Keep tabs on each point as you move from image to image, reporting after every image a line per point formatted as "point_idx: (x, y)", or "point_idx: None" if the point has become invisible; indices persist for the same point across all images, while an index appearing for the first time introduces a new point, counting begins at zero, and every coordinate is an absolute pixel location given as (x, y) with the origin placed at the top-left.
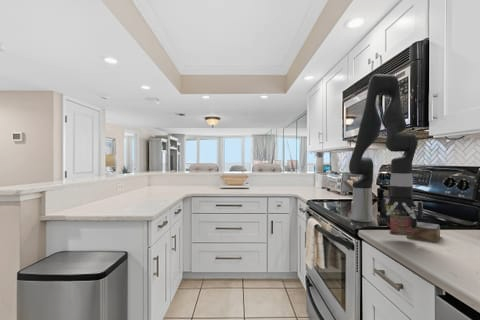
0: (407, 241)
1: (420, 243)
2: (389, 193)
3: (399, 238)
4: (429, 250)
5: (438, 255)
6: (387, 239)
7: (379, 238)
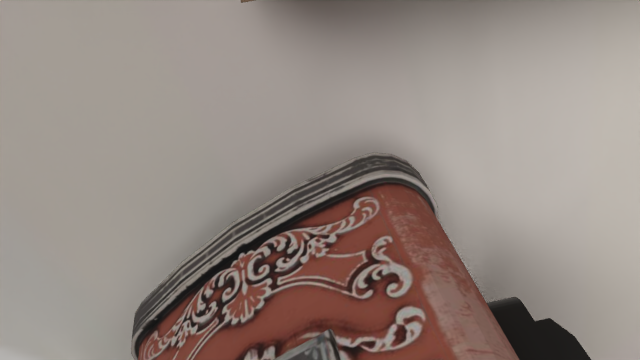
0: (326, 157)
1: (473, 117)
2: None
3: (186, 99)
4: (570, 277)
5: (629, 334)
6: (114, 264)
7: (24, 299)
